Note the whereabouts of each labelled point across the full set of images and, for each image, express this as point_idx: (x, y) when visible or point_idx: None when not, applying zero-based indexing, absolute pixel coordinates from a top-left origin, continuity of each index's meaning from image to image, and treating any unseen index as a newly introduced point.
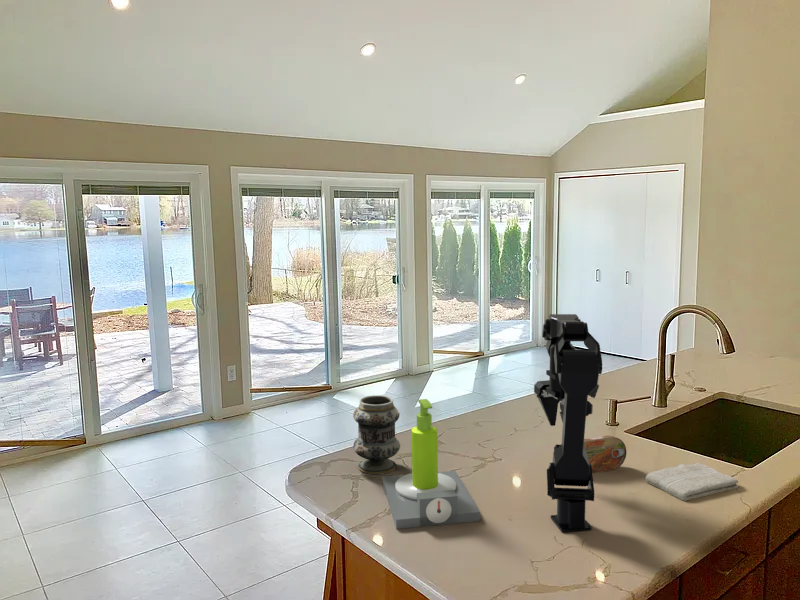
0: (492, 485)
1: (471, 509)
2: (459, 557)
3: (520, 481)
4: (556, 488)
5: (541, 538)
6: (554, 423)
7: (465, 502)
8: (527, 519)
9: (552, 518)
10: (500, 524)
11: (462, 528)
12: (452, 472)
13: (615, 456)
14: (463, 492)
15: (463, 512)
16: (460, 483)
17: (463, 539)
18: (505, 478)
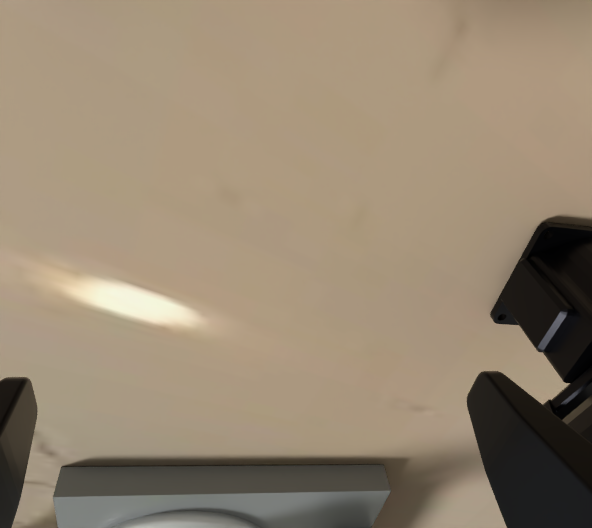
0: (156, 389)
1: (366, 503)
2: (496, 514)
3: (143, 290)
4: (578, 403)
5: (558, 376)
6: (20, 402)
7: (319, 507)
8: (448, 372)
9: (511, 324)
10: (428, 433)
11: (395, 496)
12: (72, 505)
13: None
14: (250, 502)
15: (371, 516)
16: (179, 500)
17: (440, 501)
18: (94, 332)
